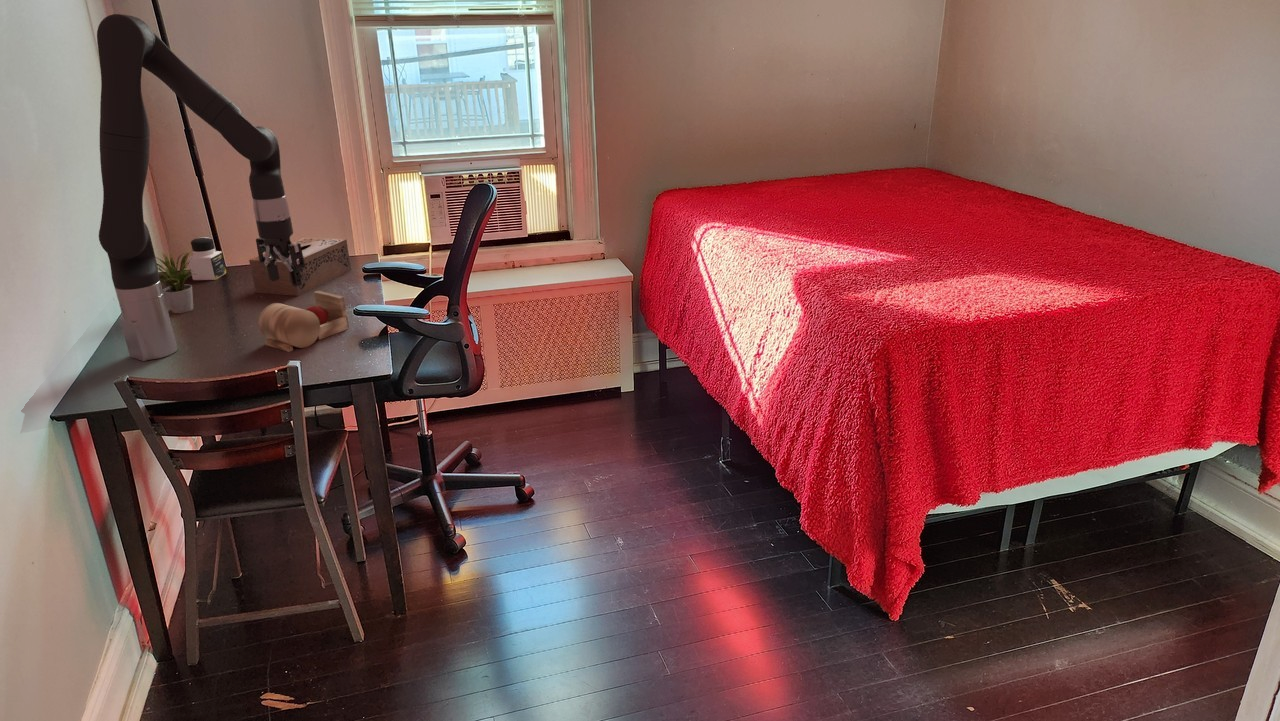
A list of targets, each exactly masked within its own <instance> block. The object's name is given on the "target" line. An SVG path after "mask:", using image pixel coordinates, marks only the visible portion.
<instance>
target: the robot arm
mask: <svg viewBox="0 0 1280 721" xmlns="http://www.w3.org/2000/svg"><path fill="white" fill-rule="evenodd" d="M96 40H97V41H96V43H97V51H98V59H99V60H98V61H99V67H100V78H101V79H100V80H101V82H100V84H101V85H100V88H101V89H100V103H99V104H100V109H99V111H100V113H99V114H100V115H99V116H100V117H99V119H100V120H99V160H100V173H101V181H102V191H103V193H102V194H103V199H102V210H101V212H102V213H101V219H100V223H99V224H100V225H99V230H98V241H99V243H100V245H101V247H102V249H103V250H104V251H105V253H106V254H107V257H108V260H109V265H110V271H111V280H112V284H113V286H114V290H115V293H116V297H117V300H118V304H119V308H120V312H121V314H122V317H120V318H119V322H120V326H121V329H122V334H123V336H124V339H125V343H126V344H125V345H126V346H127V351H128V355H129V357H130V358H133V359H136V360H138V361H142V362H146V361H149V360H155V359H162V358H165V357H169V356H170V355H172V354H174V353H175V352H177V350H178V345H177V339H176V337H175V333H174V330H173V325H172V322H171V318H170V314H169V310H168V306H167V302H166V299H165V298H166V297H165V295H164V293H163V286H162V282H160V278H159V274H160V273H159V269H158V267H159V266H158V265H157V264H158V262H157V258H156V254H155V248H154V246H153V242H152V241H153V240H152V238H151V234H150V230H149V228H148V226H147V224H146V223H145V221H144V209H143V208H144V206H143V203H144V202H143V199H144V191H145V186H146V181H147V176H148V170H149V161H150V146H151V145H150V142H151V141H150V140H151V139H150V137H151V134H150V133H151V132H150V123H149V118H148V114H147V109H146V106H145V102H144V99H143V98H144V97H143V95H142V70H143V69H144V70H146V71H148V72H150V73H151V74H153V75H154V76H155V77H156V78H158V79H159V80H160V81H162V82H163V84H165V85H166V86H167V87H168V88H169V89H170V90H171V91H172V92H173V93H174V94H175V95H176V96H177V97H178V98H179V99H180V100H181V102H182V103H183V104H184V105H185V106H186V107H188V108H189V109H190V111H192V113H194V114H195V115H196V116H198V117H199V118H200V119H202V120H203V121H204V122H206V123H207V124H208V125H209V126H210V127H211V128H213V129H214V130H216V131H217V132H218V133H219V134H221V136H222V137H223V139H224V140H225V141H226V142H227V143H228V144H229V145H230V146H231V147H232V148H233V149H234V150H235V151H236V152H238V153H239V155H241V156H242V157H243V158H245V159H247V160H248V161H249V165H250V166H249V167H250V173H249V177H248V180H249V181H248V182H249V188H250V193H251V198H252V206H253V214H254V219H255V223H256V228H257V232H258V238H256V239H255V244H256V248H257V254H258V255H257V257H258V256H259V261H260V262H261V263H262V262H264V264H265V266H267V270H268V275H269V279H270V281H276V280H279V273H278V268H277V265H276V262H277V259H279V260H281V261H282V263H283V264H285V265H286V266H287V267H288V269H289V271H290V272H289V273H290V279H291V284H292V286H294V287H296V286H299V285H301V276H300V269H302V268H305V263H304V258H303V254H302V249H301V245H300V243H295V244H292V243H293V242H292V241H291V236H293V234H294V229H293V224H292V218H291V213H290V207H289V203H288V201H287V197H286V193H285V187H284V182H283V179H282V174H281V173H282V172H281V168H282V167H281V154H280V146H279V141H278V139H277V136H276V135H275V133H274V132H273V131H272V130H271V129H270V128H268V127H265V126H262V125H261V126H258V125H257V126H255V125H253V123H251V122H250V121H249V120H248V119H246V117H245V116H243V112H242V111H241V109H240V108H239V107H238V106H237V105H236V104H235V103H234V102H233V101H231V99H229V98H228V97H226V96H225V95H224V94H223V93H222V92H221V91H219V90H218V89H216V87H214V86H213V85H212V84H210V83H209V82H208V81H206V79H204V78H203V77H202V76H200V75H199V74H198V73H196V72H195V71H194V70H193V69H192V68H190V67H189V66H188V65H187V64H186V63H185V62H184V61H182V60H181V58H179V57H178V56H177V55H176V54H175V53H174V52H173V51H172V49H171V48H170V47H169V46H167V44H166V43H165V42H164V41H163V40H162V39H161V38H160V37H159V36H158V35H157V33H156V32H154V30H153V29H152V28H151V27H150V26H149V25H148V24H147V23H146V22H145V21H143V19H141V18H138V17H136V16H133V15H129V14H121V13H113V14H110V15H107V16H106V17H104V18H103V19H102V20H101V21H100V23H99V24H98V26H97V31H96ZM263 254H265V256H264V257H263ZM290 256H291V258H289V257H290ZM297 259H299V262H300V264H299V263H298V261H297ZM291 262H292V265H293V266H292V265H291ZM157 266H158V267H157Z"/></svg>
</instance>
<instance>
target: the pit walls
mask: <svg viewBox="0 0 1280 721" xmlns="http://www.w3.org/2000/svg"><path fill="white" fill-rule="evenodd" d="M313 293H314V294H313V295H314V300H315V306H320V307H322V308H324V309H325V310H326V311H327V312H329V314H330V316H328V323H325V324H322V325H320V332H319V335H318V337H317V339H316V340H320V341H321V340H322V339H325V338H329V337H331V336H333V335H336V334H339V333H341V332H344V331H346V330H348V328H349V327H350V325H349V324H350V323H349V319H348V313H347V306H346V303H345V296H343V295H338V294H333V293H331V292H325V291H322V290H316V291H314V292H313Z"/></svg>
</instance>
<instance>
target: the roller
mask: <svg viewBox="0 0 1280 721" xmlns="http://www.w3.org/2000/svg"><path fill="white" fill-rule="evenodd" d="M258 328H259V331H260V333H261V334H262V335H263V336H264V337H265V338H267V339H264V344H265V346H268V347H272V348H274V349H278V350H282V351H284V352H288V353H289V352H292V351H294V347H296V348H301V349H303V348H307V347H309V346H311V345H312V344H314V343H315V342H316V340H318V339H317V337H318V335H319V332H320V322H319V319H318V317H317V316H316V315H315V314H314V313H313V312H311V311H308V310H305V309H303V308H300V307H297V306H296V307H295V306H293V305H288V304H285V303H284V304H283V303H280V302H273V303H270V304H268V305H267V306H265V307H264V308H263V310H262V311H261V312H260V314H259V317H258Z"/></svg>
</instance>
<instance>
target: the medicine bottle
mask: <svg viewBox="0 0 1280 721" xmlns="http://www.w3.org/2000/svg"><path fill="white" fill-rule="evenodd" d="M190 244H191V245H190V246H191V250H193V251H192V253H193V254H192V255H191V256H190V255H189V256H188V258H187V261H188V262H189V261H190V262H189V264H188V265H189V267H190V268H189V269H190V270H192V271H193V272H192V271H190V273H191V274H194V275H191V277H192V280H193V281H216V280H218V279H219V278H221V277H222V276H225V275H226V274H227V269H226V268H227V267H226V265H225V260H224V257H223V256H224V255H223V252H222V251H221V250H220V251H219V250H216V248H215V243H214V239H212V237H208V236H207V237H206V236H204V237H203V236H202V237H197V238H193V239H192V240H191V241H190ZM191 258H192V259H191ZM190 259H191V260H190ZM196 274H197V275H196Z"/></svg>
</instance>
